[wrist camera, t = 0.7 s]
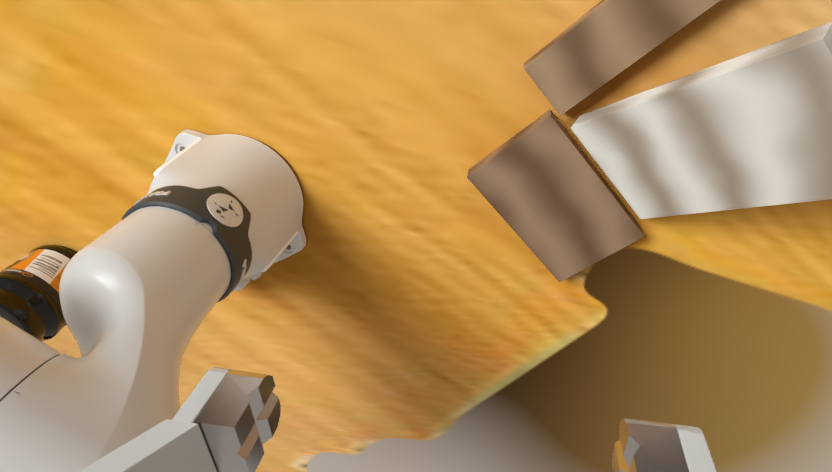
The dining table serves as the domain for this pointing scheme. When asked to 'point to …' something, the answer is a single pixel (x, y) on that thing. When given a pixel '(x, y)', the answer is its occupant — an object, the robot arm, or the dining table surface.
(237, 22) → the dining table surface
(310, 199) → the dining table surface
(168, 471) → the robot arm
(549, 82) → the walnut boards
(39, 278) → the supplement container
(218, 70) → the dining table surface
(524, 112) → the dining table surface
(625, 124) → the ash plank
